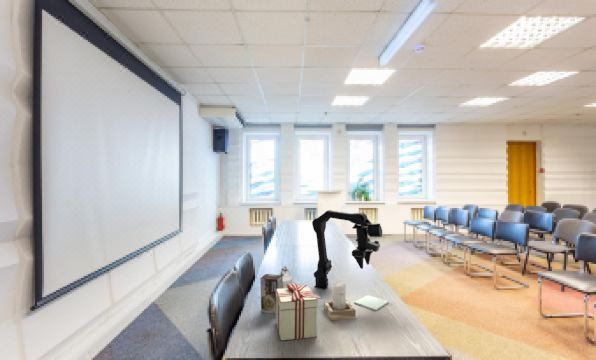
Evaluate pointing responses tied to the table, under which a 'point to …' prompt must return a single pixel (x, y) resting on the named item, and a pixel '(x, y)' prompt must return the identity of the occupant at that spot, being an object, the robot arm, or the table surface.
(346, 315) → the collar
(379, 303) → the pad
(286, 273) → the gun
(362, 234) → the robot arm
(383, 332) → the table surface
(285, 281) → the white cup
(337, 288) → the white tall cylinder
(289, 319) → the gift box
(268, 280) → the coffee box
